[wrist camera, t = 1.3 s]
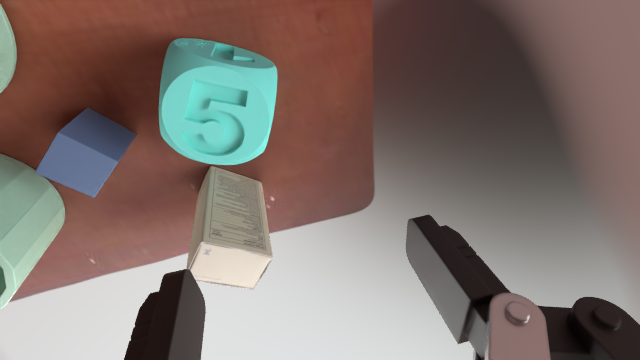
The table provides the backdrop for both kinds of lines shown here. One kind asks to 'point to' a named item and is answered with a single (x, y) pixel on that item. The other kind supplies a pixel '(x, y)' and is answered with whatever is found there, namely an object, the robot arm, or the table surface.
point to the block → (85, 152)
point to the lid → (6, 51)
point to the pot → (24, 222)
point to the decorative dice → (216, 101)
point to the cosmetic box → (229, 231)
